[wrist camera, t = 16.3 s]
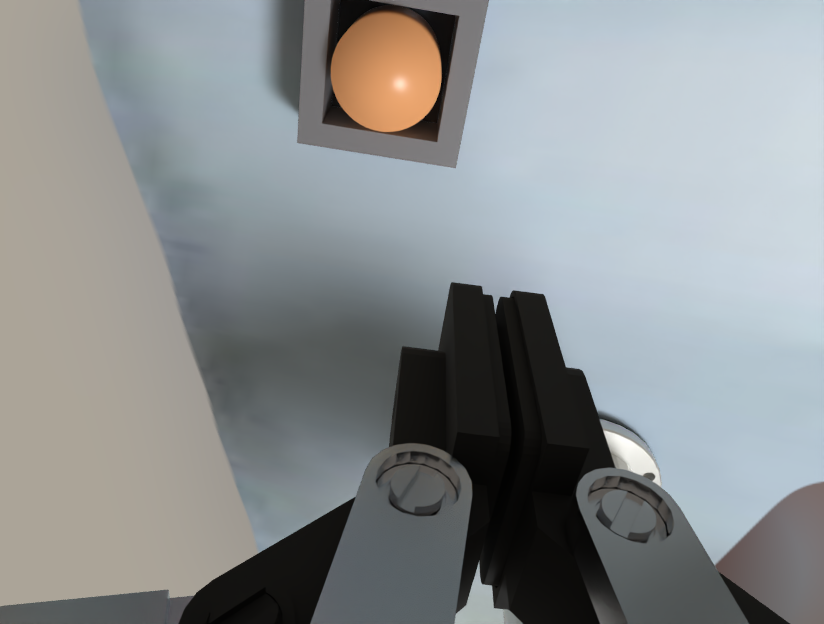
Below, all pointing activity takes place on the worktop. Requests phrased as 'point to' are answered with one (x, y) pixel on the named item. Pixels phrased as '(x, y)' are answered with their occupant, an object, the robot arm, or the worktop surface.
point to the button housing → (412, 144)
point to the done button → (387, 69)
